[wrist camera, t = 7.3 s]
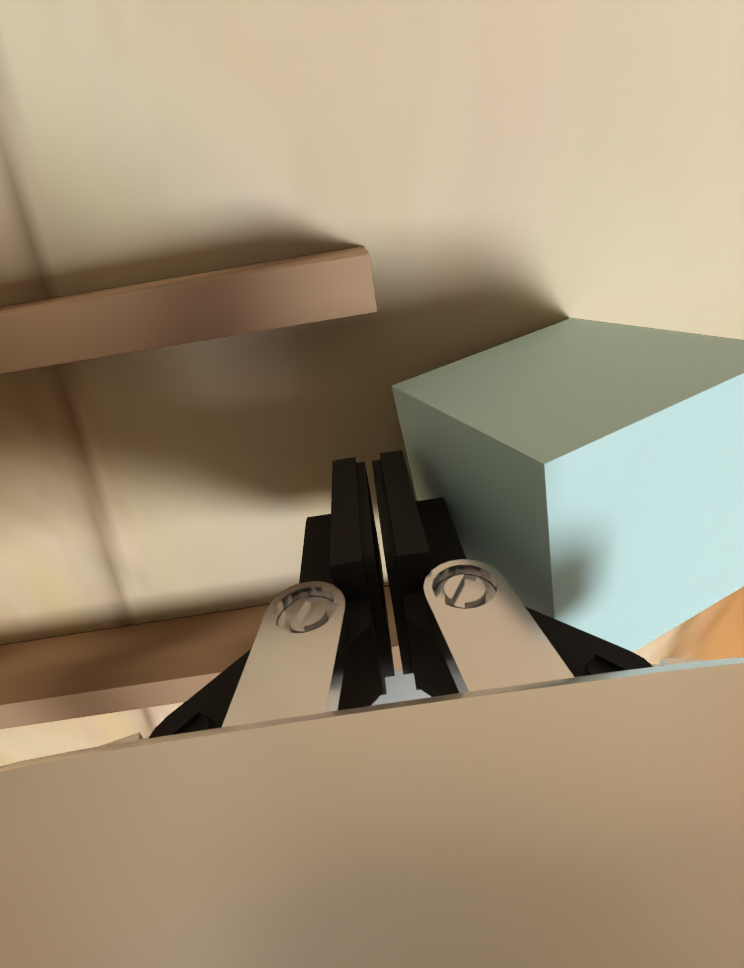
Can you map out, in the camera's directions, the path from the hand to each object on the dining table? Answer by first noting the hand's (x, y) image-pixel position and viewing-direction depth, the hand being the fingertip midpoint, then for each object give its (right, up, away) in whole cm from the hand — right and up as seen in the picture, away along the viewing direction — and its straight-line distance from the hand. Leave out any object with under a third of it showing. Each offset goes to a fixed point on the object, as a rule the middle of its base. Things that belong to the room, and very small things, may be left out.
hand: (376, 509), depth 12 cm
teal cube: (+3, +2, +1) cm, 4 cm away
